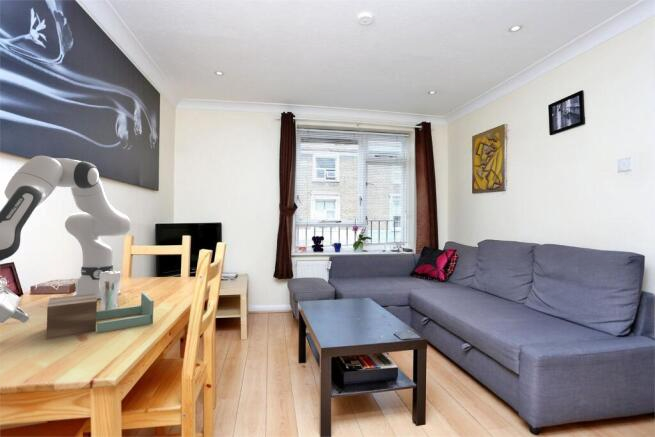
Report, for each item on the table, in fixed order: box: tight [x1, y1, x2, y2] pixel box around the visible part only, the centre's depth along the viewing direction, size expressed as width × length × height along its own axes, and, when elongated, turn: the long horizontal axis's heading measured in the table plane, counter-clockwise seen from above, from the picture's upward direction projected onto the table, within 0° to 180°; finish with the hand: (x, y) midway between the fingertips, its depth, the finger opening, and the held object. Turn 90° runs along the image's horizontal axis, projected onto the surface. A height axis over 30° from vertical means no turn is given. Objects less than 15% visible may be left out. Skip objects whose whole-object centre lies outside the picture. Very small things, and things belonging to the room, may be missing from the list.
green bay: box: [96, 291, 154, 334], centre depth 111 cm, size 16×16×8 cm
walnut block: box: [45, 294, 98, 341], centre depth 101 cm, size 12×12×10 cm
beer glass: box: [99, 270, 121, 311], centre depth 124 cm, size 7×7×15 cm
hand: (27, 319), depth 94 cm, fingers closed
